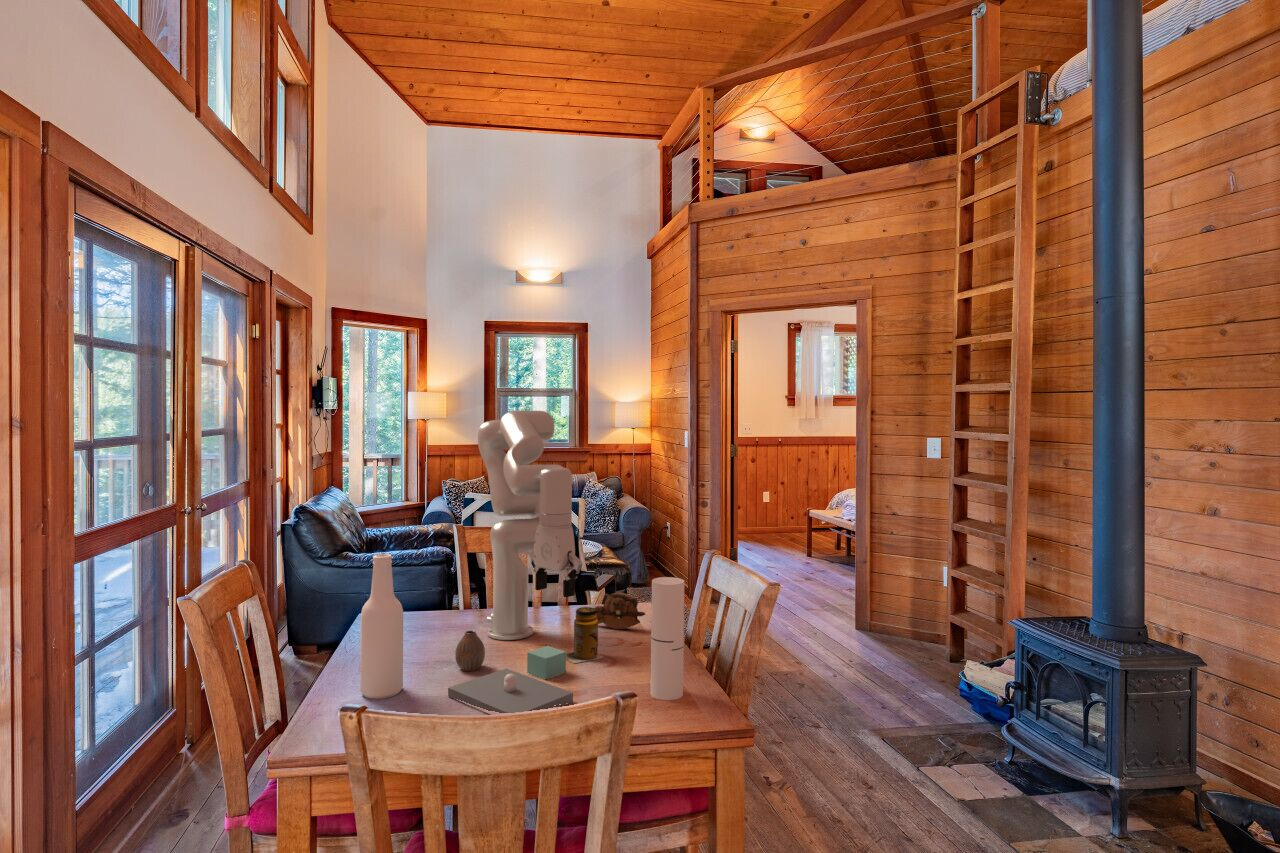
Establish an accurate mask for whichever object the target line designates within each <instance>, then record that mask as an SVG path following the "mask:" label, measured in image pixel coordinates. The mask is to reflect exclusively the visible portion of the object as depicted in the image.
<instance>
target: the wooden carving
mask: <svg viewBox="0 0 1280 853" xmlns="http://www.w3.org/2000/svg"><path fill="white" fill-rule="evenodd" d="M601 602H602V605H598V606H594V608H595V609H596V611H597V614H596V615H597V617H596V619H597V620H598V625H599V624H604V625H605V626H606V627H609V628H611V629H617V630H623V629H628V628H632V627H634V626H637V625H638V624H640V623H641V621H640V619H638V617H644V616H645V615H646V612H645V611H639V609H638V605H639V602H638V598H637V597H636V596H635V597H633V596H631V595H629V594H627V593H624V592H614V593H611V594H609V593H605V594H604V595H603V598H602V601H601Z"/></svg>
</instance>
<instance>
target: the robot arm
mask: <svg viewBox="0 0 1280 853" xmlns="http://www.w3.org/2000/svg"><path fill="white" fill-rule="evenodd" d="M554 435H555V422H554V419H553V418H552V415H550V414H549V413H548V411H545V410H519V409H518V410H517V409H516V410H511V411H508V412H506V413H505V414H503V416H502V417H501V419H493V420H487V421H485V422H483V423H482V424H480V426H479V428H478V431H477V446H478V449H479V450H478V451H479V453H480V455H481V456H480V457H481V460H482V461H483V463H484V466H485V468H486V472H487V477H488V479H487V480H488V485H489V493H490V502H491V507H492V510H493V513H494V514H495V515H496V516H500V517H520V516H521V517H525V516H528V517H530V518H512V519H504V520H500V521H497V522H496V523H493V525H492V527H491V528H490V531H489V540H490V546H491V552H492V553H491V554H492V564H493V567H492V568H493V574H492V575H493V576H492V577H493V579H492V581H493V582H492V587H493V588H492V589H493V590H492V592H493V593H492V594H493V595H492V613H491V614H490V616H487V617H486V622H489V623H490V625H491V626H489V628H487V630H486V632H487V637H489V638H491V639H495V640H500V641H514V640H515V641H517V640H521V639H525V638H528V637H530V636H532V635H533V634H534V627H533V626H531V625H529V620H528V619H529V569H528V566H527V565H526V563H525V562H524V561H523V560H522V558H521V556H520V555H522V554H523V555H525V554H529V557H530V562H531V566H532V568H533V573H534V574H535V576H534V577H535V578H534V580H535V587H534V589H535V590H536V591H540V590H544V589H547V588H548V571H549V570H550V571H554V572H561V574H562V575H563V577H564V579H563V581H562V582H563V583H562V596H563V597H564V598H569V597H574V596H575V594H576V579H577V578H578V576H579V575H580V573H581V569H582V567H583V562H582V560H580V558H579V557H577V556H576V546H575V545H576V544H575V535H574V528H573V526H572V521H573V520H572V516H573V515H572V510H573V509H572V507H573V504H572V501H573V498H572V497H573V496H572V495H573V494H572V492H573V490H572V489H573V486H572V485H573V476H572V475H573V474H572V471H571V470H570V469H569V468H566V467H563V466H562V465H559V464H531V463H533V462H535V461H536V460H538V459H540V457H541V456H542V454H543V453H544V448H545V444H547V443H548V442H549V441H550V440H552V438H553V436H554ZM504 450H508V451H507V453H506V452H505V451H504ZM546 570H548V571H546Z"/></svg>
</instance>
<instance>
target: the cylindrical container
mask: <svg viewBox="0 0 1280 853" xmlns="http://www.w3.org/2000/svg"><path fill="white" fill-rule="evenodd" d="M650 621H651V624H650V625H651V626H650V627H651V628H650V630H651V632H650V636H651V637H650V696H651V697H652V698H654V699H657V700H661V701H675V700H679V699H681V698H682V697H683V696H684V645H685V644H684V643H685V642H684V639H685V637H684V636H685V580H684V579H683V578H679V577H672V576H669V577H668V576H662V577H661V576H660V577H655V578H653V579H652V580H651V620H650Z"/></svg>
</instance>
